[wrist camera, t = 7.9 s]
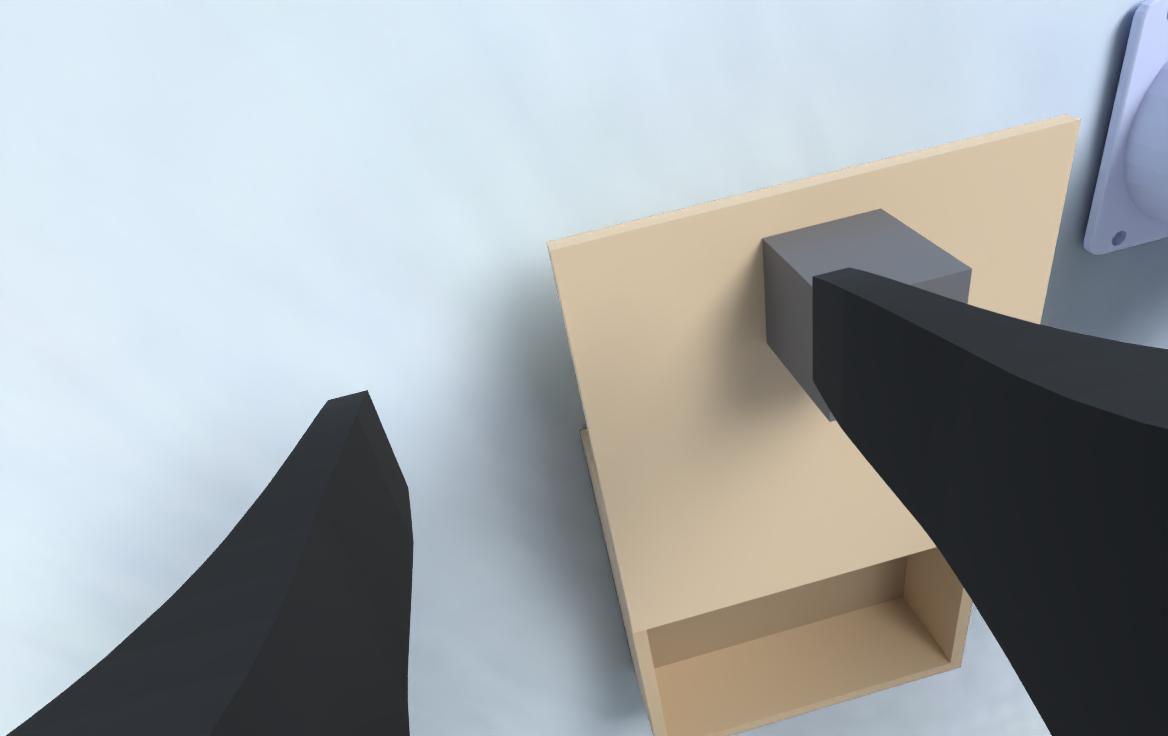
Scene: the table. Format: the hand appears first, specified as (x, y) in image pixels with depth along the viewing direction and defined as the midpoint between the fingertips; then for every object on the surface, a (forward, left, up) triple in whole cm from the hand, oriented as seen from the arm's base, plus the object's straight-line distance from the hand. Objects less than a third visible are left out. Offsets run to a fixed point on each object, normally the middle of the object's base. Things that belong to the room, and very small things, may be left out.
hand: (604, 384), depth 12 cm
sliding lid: (-7, +7, -6) cm, 12 cm away
